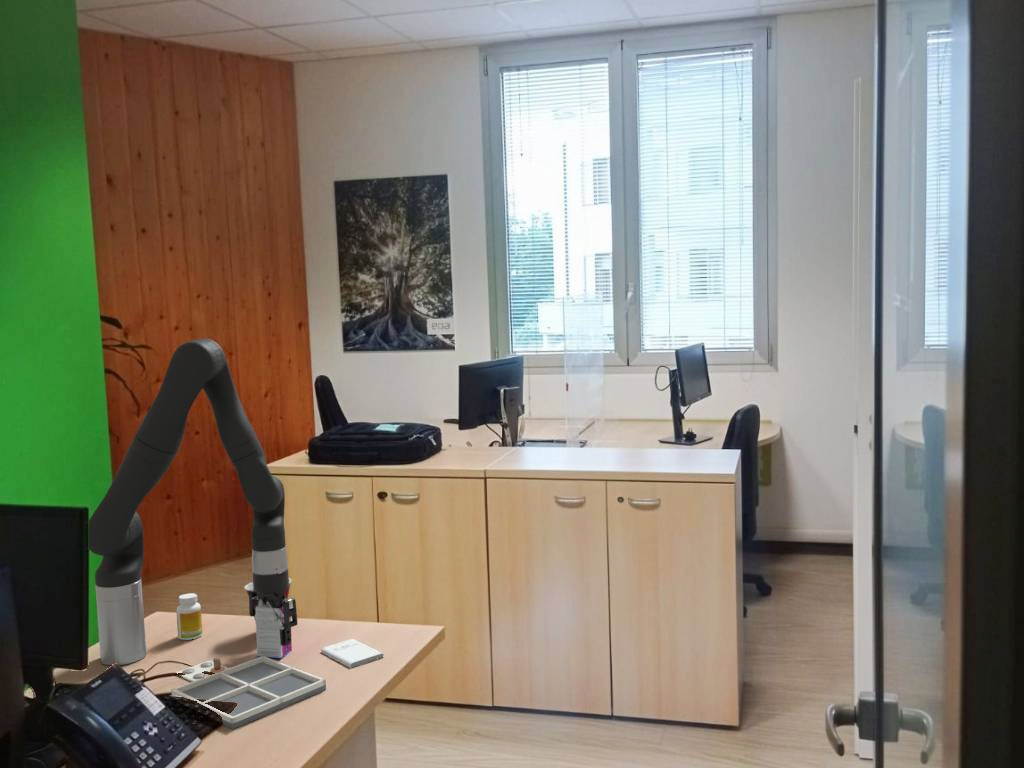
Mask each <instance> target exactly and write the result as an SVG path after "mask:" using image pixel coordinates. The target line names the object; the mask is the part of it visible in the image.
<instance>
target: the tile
mask: <svg viewBox="0 0 1024 768" xmlns="http://www.w3.org/2000/svg"><path fill="white" fill-rule="evenodd" d="M229 668H230V667H226V666H224V665H222V661H221V657H215V658H213V661H212V660H207V661H205V662H200V663H199V664H195V665H193V666H190V667H187V668H185V669H181V670H179V671H175V673H177V674H178V673H183V674H185V675H182V677H183V678H182V677H181V678H182V679H184V680H186V681H189V682H190V683H191V682H193V681H196V680H199V679H202V678H204V677H207V676H210V675H208V674H204V673H202V672H204V671H208V672H213V673H218V672H221V671H223V670H226V669H229Z"/></svg>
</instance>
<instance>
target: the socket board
mask: <svg viewBox="0 0 1024 768" xmlns="http://www.w3.org/2000/svg"><path fill="white" fill-rule="evenodd" d="M228 668H229V669H226V670H223V671H221V672H218V673H215V674H212V675H210V676H207V677H204V678H202V679H199V680H196V681H193V682H191V681H190V682H188V683H185V684H182V685H180V686H177V687H174V688H172V689H170V691H171V692H170V695H177V696H181V697H185V698H187V699H190V700H194V701H197V703H199V704H201V705H203V706H205V707H207V708H209V709H210V710H212V711H214V712H216V713H217V714H218V715H220V716H221V717H222V722H223V724H224V725H223V724H222V725H223V726H225V725H226V726H225V727H227V728H229V729H231V730H234V729H237V728H239V727H241V726H244V725H246V724H248V723H250V722H253V721H255V720H258V719H260V718H262V717H265V716H266V715H269V714H271V713H274V712H278V711H279V710H282V709H283V708H286V707H288V705H289V706H291V705H292V704H293V705H294V704H296V703H297V702H300V701H302V700H305V699H307V698H310V697H312V696H314V695H317V694H318V693H322V692H324V691H325V690H327V685H326V683H327V682H326V678H323V677H320V676H317V675H315V674H313V673H312V674H311V673H309V672H306V671H305V670H301V669H298V668H296V667H293V666H290V665H288V664H285V663H282V662H280V661H279V660H273V659H270V658H267V657H265V656H261V657H259V658H257V657H256V658H254V659H251V660H248V661H245V662H243V663H240V664H237V665H235V666H232V667H228ZM195 698H198V699H209V700H206V701H204V702H201V701H199V700H197V699H195ZM211 701H222V702H235V703H237V706H236V707H235V708H234V710H233V711H232V712H231V713H229V714H227V713H225V712H222V711H220V710H218V709H216V708H214V707H212V706H210V705H208V704H205V703H208V702H211ZM295 702H296V703H295Z"/></svg>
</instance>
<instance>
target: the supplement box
mask: <svg viewBox="0 0 1024 768" xmlns="http://www.w3.org/2000/svg"><path fill="white" fill-rule="evenodd" d="M255 609H256V621H255V631H256V632H255V635H256V658H259V657H261V656H265V657H267V658H270V659H273V660H275V661H281V660H282V659H283V658H284V657H286V656H287V655H288V654H289V653H290V651H292V649H293V646H292V645H293V644H292V643H293V642H292V641H293V640H292V639H291V643H290V644H289V645H286V646H282V645H281V641H280V629H281V628H280V626H279V624H278V621H275V620H274V615H273V609H274V611H275V612H276V613H277V614H278V615H279V616H280V614H283V613H284V611H283V609H282V607H280V608H273V609H272V608H268V607H267V605H266V604H264V605H259V606H257V607H256V608H255ZM290 619H291V620H292V616H290ZM282 620H283V623H285V622H284V618H283V619H282Z"/></svg>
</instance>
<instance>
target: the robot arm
mask: <svg viewBox="0 0 1024 768" xmlns="http://www.w3.org/2000/svg"><path fill="white" fill-rule="evenodd" d="M230 370H231V369H230V368H229V364H228V360H227V358H226V355H225V352H224V350H223V348H222V347H221V346H220V344H218V343H217V342H216V341H214V340H213V339H210V338H204V337H203V338H195V339H193V340H188V341H186V342H183V343H182V344H180V345H179V346H178V347H177V348H176V350H174V352H173V353H172V355H171V359H170V361H169V363H168V366H167V369H166V372H165V375H164V376H163V377H164V378H163V380H162V383H161V386H160V387H159V390H158V393H157V395H156V396H155V398H154V400H153V402H152V403H151V404H150V405H151V406H150V407H149V409H148V410H147V412H146V414H145V416H144V417H143V420H142V421H141V423H140V425H139V427H138V428H137V431H136V432H135V434H134V436H133V438H132V440H131V442H130V445H129V446H128V449H127V451H126V453H125V455H124V457H123V459H122V462H121V464H120V465H119V467H118V469H117V472H116V474H115V476H114V478H113V479H112V482H111V484H110V486H109V488H108V490H107V491H106V492H105V495H104V497H103V498H102V500H101V501H100V503H99V504H98V506H97V507H96V509H95V510H94V511H93V513H92V515H91V516H90V518H89V519H88V521H89V548H88V550H89V551H90V552H91V553H92V554H94V555H97V556H102V558H101V562H100V564H99V566H98V567H97V569H96V570H95V573H94V583H95V585H94V586H95V596H96V597H95V598H96V611H97V613H96V614H97V627H98V641H99V653H100V654H99V655H100V663H101V664H103V665H105V666H113V665H112V664H115V663H117V664H119V665H118V666H123V665H129V664H133V663H136V662H138V661H140V660H142V659H143V658H145V657H146V656H147V644H146V643H147V642H146V627H145V626H146V625H145V614H144V599H143V598H144V597H143V585H142V583H143V582H142V570H143V566H144V561H145V554H144V553H145V551H144V550H145V549H144V546H145V545H144V542H145V541H144V528H143V523H142V519H141V517H140V515H139V514H138V512H137V510H138V508H139V506H140V505H141V504H142V502H143V500H144V499H145V498H146V497H147V496H148V495H149V494H150V492H151V491H152V490H153V489H154V488H155V487H156V486H157V484H158V483H159V482H160V481H161V479H162V478H163V477H164V476H165V474H166V473H167V472H168V470H169V468H170V467H171V465H172V464H173V462H174V461H175V460H174V459H175V457H176V456H177V454H178V451H179V450H180V447H181V445H182V443H183V440H184V436H185V431H186V427H187V420H188V416H189V413H190V411H191V408H192V407H193V404H194V402H195V401H196V400H197V398H198V396H199V394H200V392H201V391H202V390H203V391H204V393H205V395H206V397H207V399H208V402H209V403H210V405H211V409H212V411H213V415H214V419H215V423H216V428H217V432H218V435H219V439H220V442H221V444H222V447H223V448H224V450H225V453H226V455H227V457H228V459H229V460H230V462H231V465H232V466H233V467H234V469H235V472H236V474H237V477H238V481H239V484H240V487H241V490H242V492H243V494H244V497H245V499H246V501H247V503H248V505H250V508H252V511H253V512H252V514H253V521H252V522H253V523H252V526H251V551H252V552H251V568H252V569H251V571H252V582H253V590H250V591H249V595H248V604H249V606H248V607H249V611H248V612H249V616H250V618H251V617H254V618H253V619H254V621H255V622H256V610H254V606H255V605H257V606H259V605H264V604H266V605H267V607H268V608H272V609H273V608H280V607H282V609H283V611H284V613H283V614H280V616H279V615H278V614H277V613H276V612H275V611H274V609H273V615H274V620H275V621H278V624H279V626H280V628H281V629H280V641H281V645H282V646H286V645H289V644H290V643H291V640H292V627H295V626H298V615H297V604H296V603H297V602H296V598H294V597H292V598H288V599H286V596H285V591H286V589H287V588H288V587H289V578H290V577H289V562H288V558H289V557H288V552H287V546H286V531H285V529H286V528H285V521H284V519H285V501H286V499H285V498H286V497H285V496H286V495H285V488H284V487H285V486H284V484H283V482H282V481H281V480H280V478H278V477H277V476H275V475H272V473H271V471H270V469H269V466H268V465H267V456H266V454H265V451H264V448H263V447H262V444H261V443H260V441H259V438H258V437H257V434H256V433H255V431H254V428H253V426H252V425H251V423H250V421H249V418H248V417H247V413H246V412H245V410H244V406H243V405H242V403H241V399H240V397H239V394H238V392H237V389H236V387H235V386H236V385H235V383H234V380H233V378H232V374H231V371H230ZM290 616H291V619H290ZM283 618H284V622H285V623H283V620H282V619H283Z"/></svg>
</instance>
